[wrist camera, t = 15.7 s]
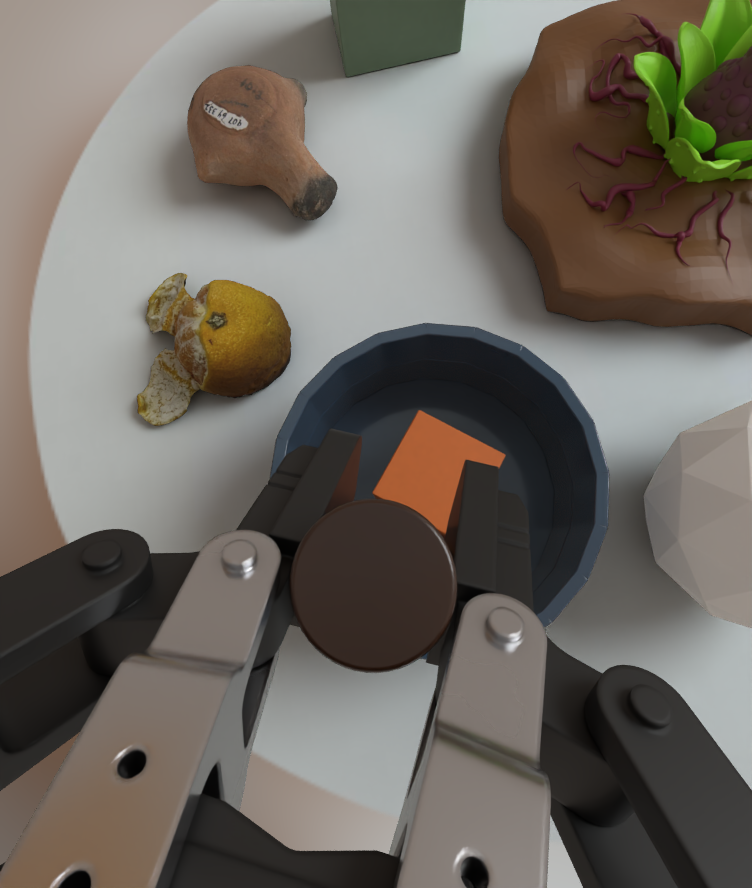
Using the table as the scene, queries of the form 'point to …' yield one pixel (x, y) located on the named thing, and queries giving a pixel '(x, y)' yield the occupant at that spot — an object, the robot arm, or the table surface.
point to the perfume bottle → (707, 514)
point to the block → (431, 468)
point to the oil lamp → (257, 137)
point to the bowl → (473, 433)
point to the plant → (637, 162)
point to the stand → (395, 31)
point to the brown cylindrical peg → (373, 585)
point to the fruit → (212, 345)
